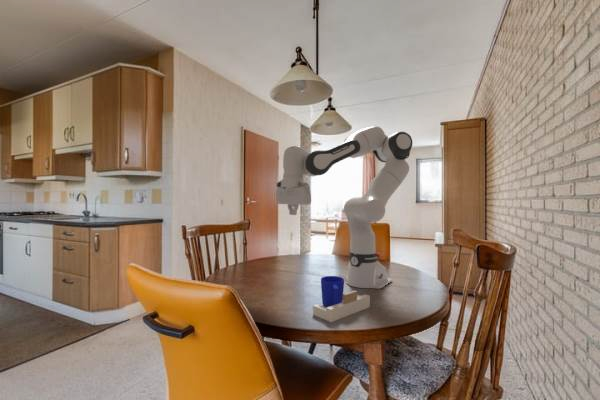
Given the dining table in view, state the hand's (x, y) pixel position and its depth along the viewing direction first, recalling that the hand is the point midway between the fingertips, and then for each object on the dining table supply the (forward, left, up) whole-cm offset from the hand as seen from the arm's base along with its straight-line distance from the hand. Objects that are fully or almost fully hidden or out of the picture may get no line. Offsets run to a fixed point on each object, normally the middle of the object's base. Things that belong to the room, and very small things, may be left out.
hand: (292, 214), depth 128 cm
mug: (+6, +30, -31) cm, 44 cm away
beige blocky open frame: (+5, +33, -31) cm, 46 cm away
